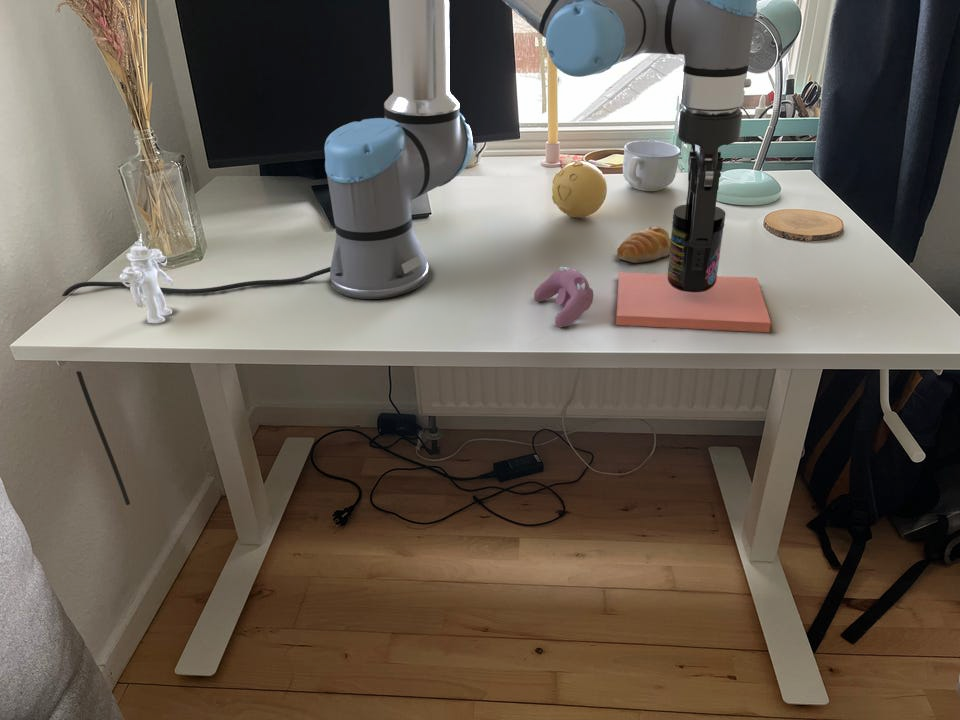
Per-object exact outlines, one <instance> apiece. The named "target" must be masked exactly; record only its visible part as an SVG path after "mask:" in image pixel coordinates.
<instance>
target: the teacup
mask: <svg viewBox="0 0 960 720" xmlns="http://www.w3.org/2000/svg"><path fill="white" fill-rule="evenodd" d="M623 149H624V152H623V161H622V175H623V178H624V180H625V181H626V182H627V183H628V184H629V185H630V186H631V187H632V188H633V189H635V190H638V191H643V192H658V191H661V190H663V189H665V188H666V187H668V186H669V185H671V184H672V182H673V181H674V180H675V177H676V174H677V170H678V165H679V159H680V154H681V149H680V148H679V146H677V145H674V144H671V143H668V142H665V141H659V140H634V141H630V142H627V143H626V144H625V145H624V146H623Z"/></svg>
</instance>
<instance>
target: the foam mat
mask: <svg viewBox="0 0 960 720" xmlns="http://www.w3.org/2000/svg"><path fill="white" fill-rule="evenodd" d="M667 275H668V273H646V272H645V273H642V272H618V284H617V301H616V317H615V325H616V326H632V327H648V328H649V327H650V328H668V329H669V328H670V329H688V330H689V329H690V330H691V329H692V330H711V331H712V330H713V331H729V332H730V331H731V332H748V333H749V332H750V333H770V332H771V325H772V321H771V319H770V315H769V311H768V308H767V305H766V301H765V299H764V295H763V291H762V288H761V285H760V282H759V279H758V277H753V276H751V277H748V276H727V275H726V276H724V275H723V276H722V275H717V280H716V283H715V285H714V286H713V287H712V288H711V289H709V290H707V291H703V292H685V291H681V290H678V289H676V288H674V287H672V286H671V285H670V284H669V282H668V279H667Z"/></svg>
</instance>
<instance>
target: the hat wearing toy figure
mask: <svg viewBox="0 0 960 720" xmlns="http://www.w3.org/2000/svg"><path fill="white" fill-rule="evenodd" d="M142 238H143V237H142V233H139V237H138V239H137V241H134V244H135V245H133V246H131V247H130V252H128V253H126V259H127V260H128V261H130V265H128V266H125V268H123V269H122V270H121V271H122V273H120V275H119V279H120V282H122V283H123V284H124V285H125V286H127V287H126V288H129V289H130V290H129V291H130V293H131V295H132V299H133V300H134V304H135V306H136V307H137V308H141V309H144V307H146V308H147V313H146V318H147V323H149V324H162V323H165V321H166V318H165V317H164V316H166V317H167V316H171V315H172V314H173V309H172V308H169V307H167V305H166V304H167V302H166V298H165V297H164V292H162V291H161V289H160V287H161V286H160V285H159V283H158V277H159V278H160V280H161V281H162V282H163V283H164V284H165V285H166V286H169V287H173V286H174V281H173V279H172V278H171V277H170V276H169V275H168V274H166V272H165V270H163V269H160V265H159V264H161V265H162V266H163V267H166V265H167V263H168V257H167V255H163V252H162V250H160V248H148V247H147V246H145V245H144V246H143V243H142V242H143V239H142ZM158 263H159V264H158ZM126 282H128V283H130V284H128V285H127V284H125V283H126Z"/></svg>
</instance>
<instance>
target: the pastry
mask: <svg viewBox="0 0 960 720" xmlns="http://www.w3.org/2000/svg"><path fill="white" fill-rule="evenodd" d="M670 244H671V236H670V235H669V232H668V230H666V229H664V228H662V227H661V226H656V227H652V226H649V227H648V228H647V229H644V230H643V229H642V230H640V231H636V232H635V231H634V232H633V233H631V234H630V236H629V237H627V238H626V239H625V240H624V241H623V242H622V243H620V245H619V246H618V247H617V251H616V252H617V259H620V260H623V261H625V262H626V261H627V262H629V263H634V264H637V263H638V264H641V263H643V262H651V261H656V260H659V259H661V258H662V257H663V258H665V257H667V256H669V254H670Z"/></svg>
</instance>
